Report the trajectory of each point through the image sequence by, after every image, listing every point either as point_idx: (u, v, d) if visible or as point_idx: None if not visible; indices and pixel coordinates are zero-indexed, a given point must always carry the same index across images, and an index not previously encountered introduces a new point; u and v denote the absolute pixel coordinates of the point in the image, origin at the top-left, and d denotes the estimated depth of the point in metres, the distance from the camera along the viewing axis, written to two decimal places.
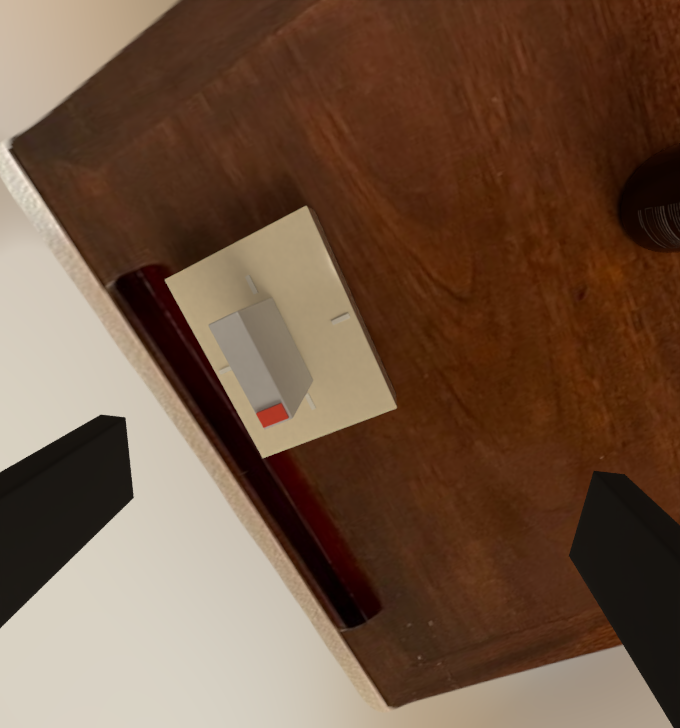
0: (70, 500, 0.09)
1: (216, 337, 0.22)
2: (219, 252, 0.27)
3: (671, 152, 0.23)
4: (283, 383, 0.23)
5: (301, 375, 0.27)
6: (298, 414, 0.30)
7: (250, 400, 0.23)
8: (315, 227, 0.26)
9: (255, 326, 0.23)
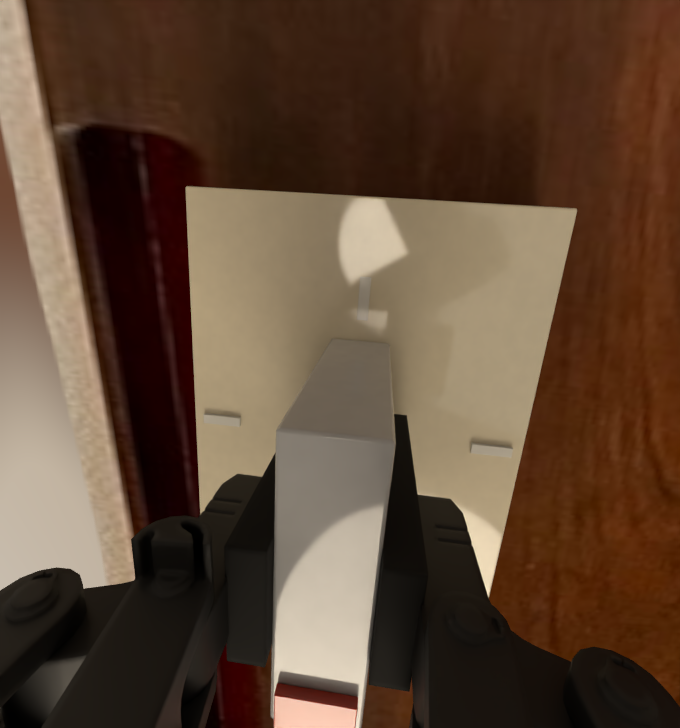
0: None
1: (281, 473, 0.07)
2: (336, 198, 0.12)
3: None
4: None
5: None
6: None
7: (277, 653, 0.08)
8: (563, 262, 0.12)
9: None
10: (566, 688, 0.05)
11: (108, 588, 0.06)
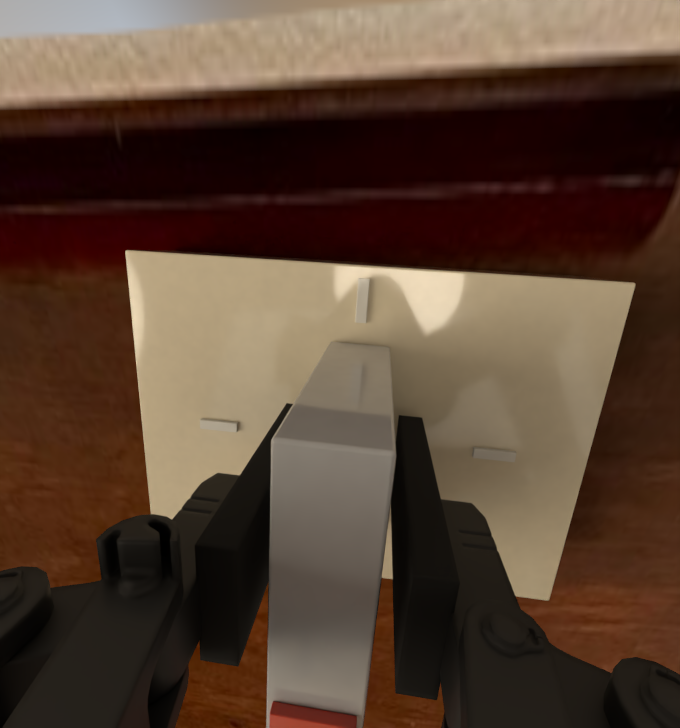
0: None
1: (277, 485, 0.06)
2: (592, 433, 0.13)
3: None
4: None
5: None
6: (201, 388, 0.14)
7: (273, 670, 0.07)
8: None
9: None
10: (607, 698, 0.05)
11: (77, 587, 0.06)
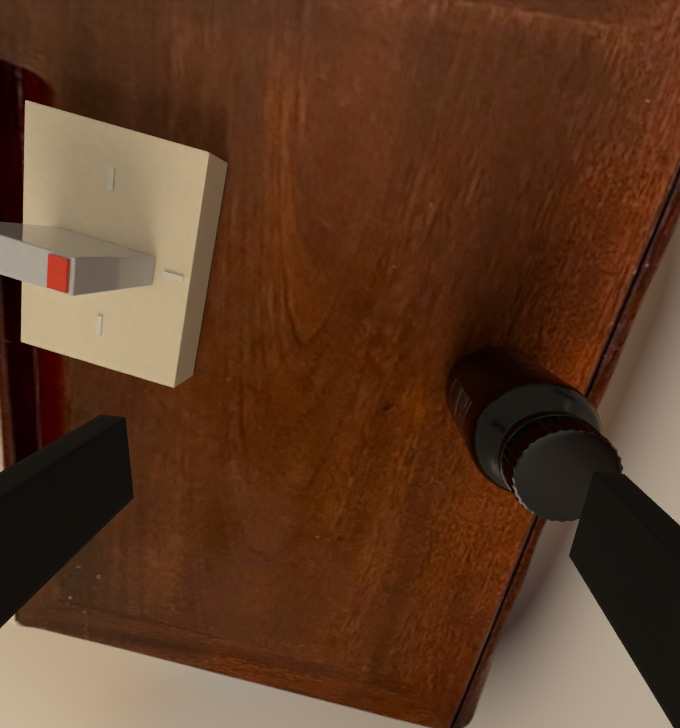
0: (70, 500, 0.09)
1: None
2: (99, 122, 0.23)
3: (502, 355, 0.25)
4: (57, 246, 0.20)
5: (118, 250, 0.23)
6: (81, 328, 0.27)
7: (34, 282, 0.19)
8: (204, 178, 0.24)
9: None
10: None
11: None
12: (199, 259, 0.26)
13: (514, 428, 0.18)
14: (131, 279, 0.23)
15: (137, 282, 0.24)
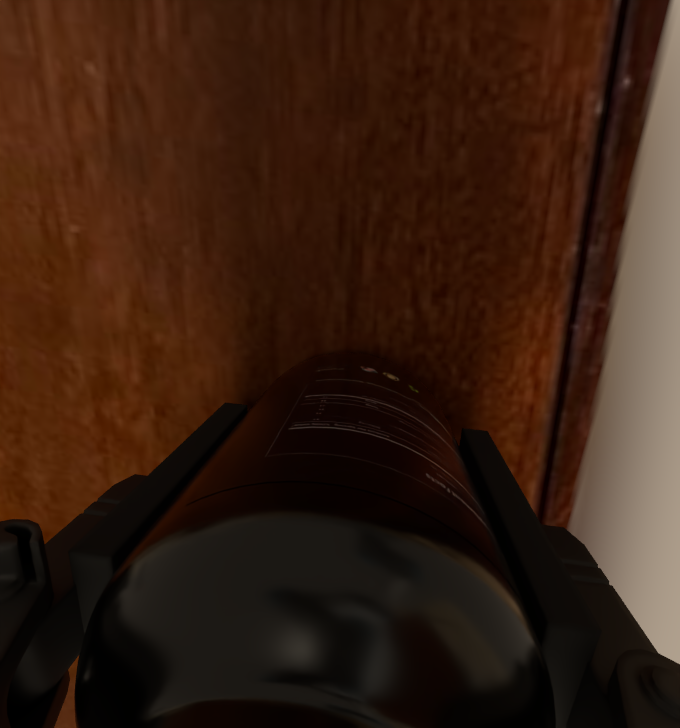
0: None
1: None
2: None
3: (298, 381, 0.10)
4: None
5: None
6: None
7: None
8: None
9: None
10: None
11: None
12: None
13: None
14: None
15: None
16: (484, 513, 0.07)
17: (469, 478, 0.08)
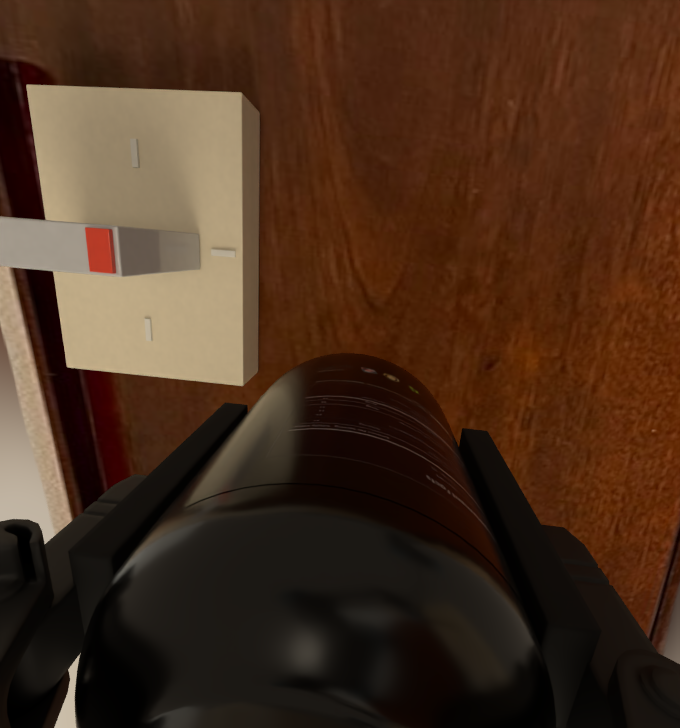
0: None
1: None
2: (110, 89, 0.20)
3: (298, 382, 0.10)
4: None
5: None
6: (129, 337, 0.24)
7: (75, 269, 0.16)
8: (240, 126, 0.20)
9: None
10: None
11: None
12: (247, 229, 0.22)
13: None
14: (178, 259, 0.20)
15: (185, 264, 0.21)
16: (484, 514, 0.07)
17: (469, 479, 0.08)
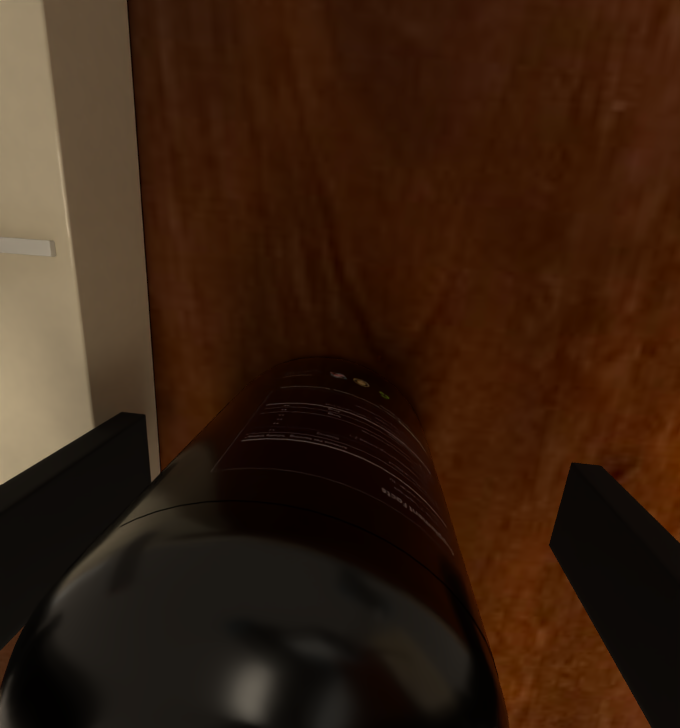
0: (95, 494, 0.10)
1: None
2: None
3: (264, 387, 0.09)
4: None
5: None
6: None
7: None
8: None
9: None
10: None
11: None
12: (92, 190, 0.09)
13: None
14: None
15: None
16: (446, 527, 0.07)
17: (435, 489, 0.08)
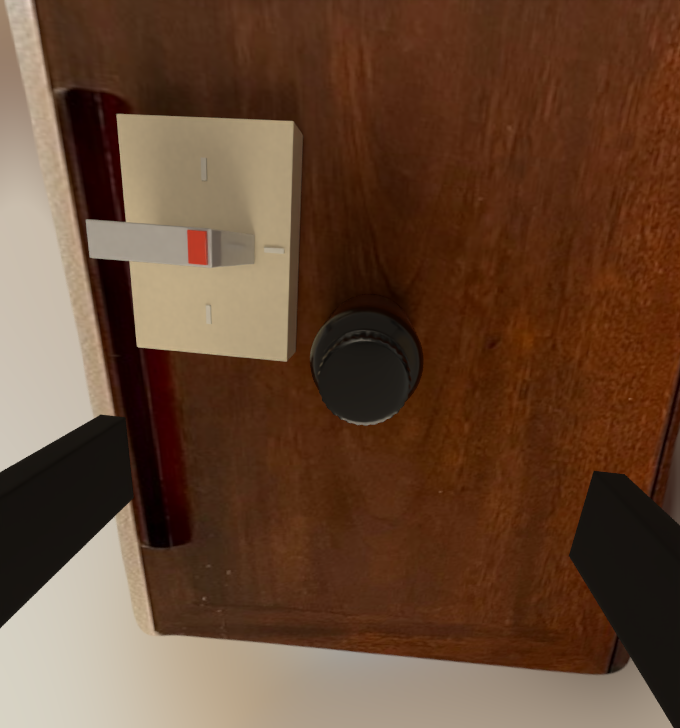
0: (70, 500, 0.09)
1: (103, 256, 0.21)
2: (186, 118, 0.25)
3: (353, 299, 0.27)
4: None
5: None
6: (192, 321, 0.29)
7: (175, 262, 0.20)
8: (291, 148, 0.25)
9: None
10: None
11: None
12: (293, 230, 0.27)
13: (324, 352, 0.21)
14: (242, 255, 0.25)
15: (246, 259, 0.25)
16: (412, 327, 0.24)
17: None
